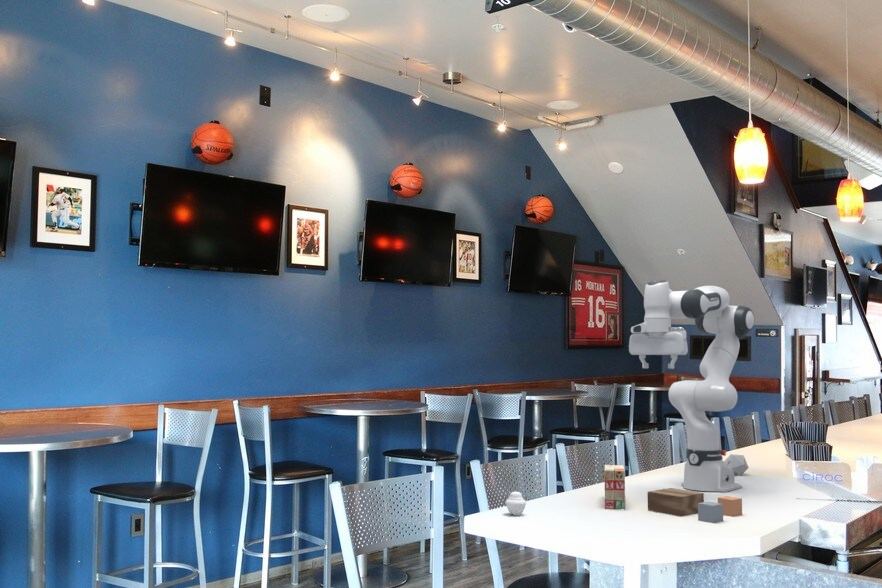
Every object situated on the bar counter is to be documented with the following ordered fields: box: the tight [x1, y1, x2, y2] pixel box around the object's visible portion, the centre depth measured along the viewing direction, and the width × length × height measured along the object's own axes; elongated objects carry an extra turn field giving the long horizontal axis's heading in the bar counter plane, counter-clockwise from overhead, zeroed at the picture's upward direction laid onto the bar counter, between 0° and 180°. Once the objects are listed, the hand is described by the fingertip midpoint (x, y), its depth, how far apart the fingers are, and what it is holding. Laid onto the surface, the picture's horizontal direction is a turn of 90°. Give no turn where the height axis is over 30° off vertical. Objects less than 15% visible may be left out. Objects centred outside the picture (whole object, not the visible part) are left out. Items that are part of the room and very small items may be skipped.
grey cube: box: [697, 501, 724, 524], centre depth 232 cm, size 5×5×5 cm
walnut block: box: [647, 487, 705, 517], centre depth 246 cm, size 12×12×6 cm
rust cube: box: [717, 495, 743, 518], centre depth 241 cm, size 5×5×5 cm
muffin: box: [505, 490, 527, 516], centre depth 239 cm, size 6×6×7 cm
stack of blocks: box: [603, 464, 626, 510], centre depth 259 cm, size 21×6×12 cm, turn 169°
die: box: [723, 453, 750, 477], centre depth 324 cm, size 8×9×10 cm
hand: (658, 368), depth 269 cm, fingers open, 8 cm apart
